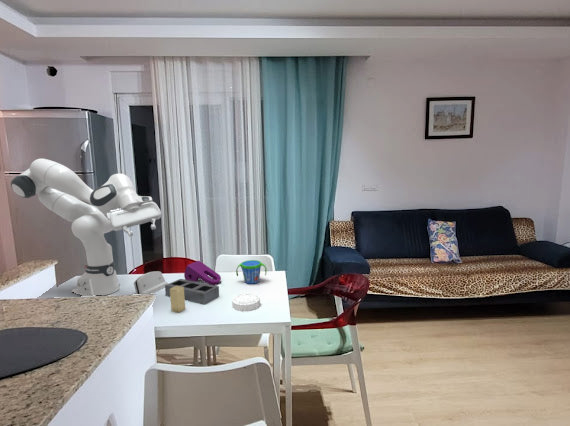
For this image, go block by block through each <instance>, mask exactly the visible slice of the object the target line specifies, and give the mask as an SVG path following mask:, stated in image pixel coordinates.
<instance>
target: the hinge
mask: <svg viewBox="0 0 570 426" xmlns="http://www.w3.org/2000/svg"><path fill="white" fill-rule="evenodd" d="M167 284H169V283H168V282H167V281H166V279H165V277H164V275H163V273H162V272H161V271H158V270H157V271H149V272H146V273H144V274H142V275H141V276H139V277H138V278H136V279H135V280H134V281H133V285H134V287H133V288H134V290H135V295H136V294H151V293H153V294H155V293H157V292H159V291H161V290H163V289H165V285H167ZM151 295H152V294H151Z"/></svg>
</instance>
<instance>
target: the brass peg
mask: <svg viewBox="0 0 570 426" xmlns="http://www.w3.org/2000/svg"><path fill="white" fill-rule="evenodd" d="M169 297H170V307H171V308H170V310H171V312H173V313H176V314H180V313H181V312H183V311H185V310H186V300H185V296H184V287H182V286H175V287H172V288H170V296H169Z"/></svg>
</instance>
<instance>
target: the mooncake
mask: <svg viewBox="0 0 570 426" xmlns="http://www.w3.org/2000/svg"><path fill="white" fill-rule="evenodd" d="M231 300H232V301H231V305H232V309H233V310H235V311H240V312H250V311H254V310H257V309H258V308H259V307H260V305H261V299H260V296H258V294H257V295H256V294H254V293H245V294H244V293H243V294H238V295H236V296H235V297H233V298H232V299H231Z"/></svg>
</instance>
